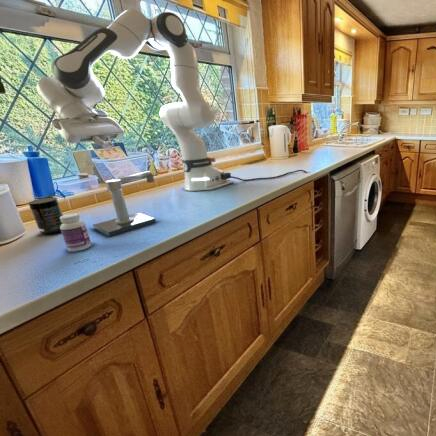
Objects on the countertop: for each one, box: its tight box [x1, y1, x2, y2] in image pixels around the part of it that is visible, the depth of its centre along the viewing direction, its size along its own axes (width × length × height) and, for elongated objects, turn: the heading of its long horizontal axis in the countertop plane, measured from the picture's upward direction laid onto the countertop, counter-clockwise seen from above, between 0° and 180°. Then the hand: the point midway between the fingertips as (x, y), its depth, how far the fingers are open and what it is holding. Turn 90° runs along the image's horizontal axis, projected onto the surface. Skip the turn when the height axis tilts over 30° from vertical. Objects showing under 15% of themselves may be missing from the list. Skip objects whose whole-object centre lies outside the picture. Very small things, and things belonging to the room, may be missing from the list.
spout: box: [105, 170, 155, 192], centre depth 102 cm, size 17×4×4 cm, turn 165°
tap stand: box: [92, 188, 157, 237], centre depth 98 cm, size 14×12×12 cm
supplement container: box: [28, 197, 64, 236], centre depth 95 cm, size 7×7×10 cm
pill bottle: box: [60, 212, 92, 252], centre depth 83 cm, size 5×5×10 cm
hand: (109, 147), depth 106 cm, fingers closed
